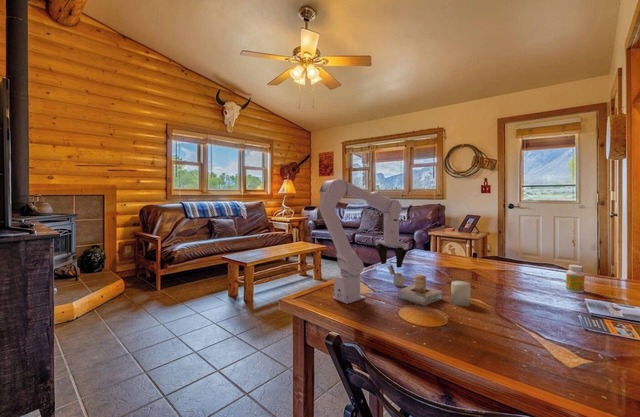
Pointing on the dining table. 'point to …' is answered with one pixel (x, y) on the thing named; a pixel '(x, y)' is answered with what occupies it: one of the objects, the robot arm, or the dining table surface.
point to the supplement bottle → (575, 279)
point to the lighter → (396, 276)
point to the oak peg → (420, 284)
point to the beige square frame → (420, 295)
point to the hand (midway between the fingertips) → (391, 265)
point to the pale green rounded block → (460, 293)
